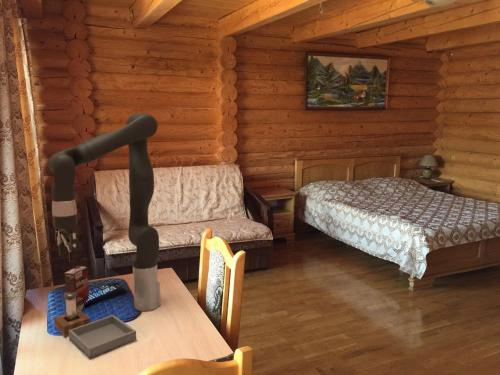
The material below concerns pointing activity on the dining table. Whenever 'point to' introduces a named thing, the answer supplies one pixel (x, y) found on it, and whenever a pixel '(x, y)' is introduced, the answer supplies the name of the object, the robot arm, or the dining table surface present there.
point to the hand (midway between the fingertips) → (67, 258)
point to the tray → (102, 336)
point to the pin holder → (65, 326)
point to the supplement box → (78, 284)
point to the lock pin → (71, 305)
